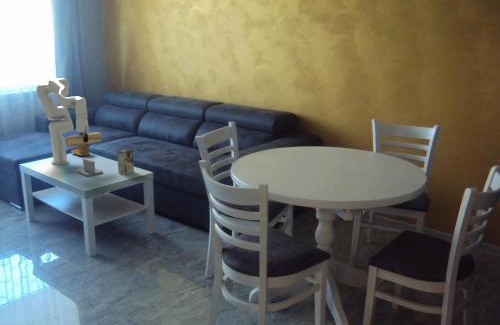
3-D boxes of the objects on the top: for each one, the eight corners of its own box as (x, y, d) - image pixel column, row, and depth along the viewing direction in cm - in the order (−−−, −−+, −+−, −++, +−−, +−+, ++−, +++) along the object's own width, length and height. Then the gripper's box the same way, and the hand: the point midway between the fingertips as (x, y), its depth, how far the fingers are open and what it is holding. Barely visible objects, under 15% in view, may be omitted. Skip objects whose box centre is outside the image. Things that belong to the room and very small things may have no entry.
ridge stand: (76, 172, 337) (75, 159, 335) (91, 168, 346) (90, 156, 343) (87, 177, 327) (86, 163, 324) (103, 173, 335) (102, 160, 332)
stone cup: (94, 154, 382) (92, 136, 378) (80, 157, 374) (78, 139, 370) (84, 151, 392) (83, 133, 388) (70, 153, 384) (69, 135, 379)
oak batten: (66, 145, 327) (65, 137, 325) (98, 140, 343) (97, 132, 342) (69, 146, 324) (68, 138, 322) (101, 141, 340) (100, 132, 339)
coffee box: (127, 170, 343) (126, 148, 339) (134, 171, 340) (133, 150, 336) (118, 173, 336) (116, 151, 331) (124, 175, 333) (123, 152, 328)
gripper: (70, 115, 331) (73, 140, 336) (82, 117, 320) (85, 144, 325) (80, 113, 337) (83, 138, 341) (92, 116, 325) (95, 142, 330)
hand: (84, 141), depth 333 cm, fingers closed on oak batten, 4 cm apart
